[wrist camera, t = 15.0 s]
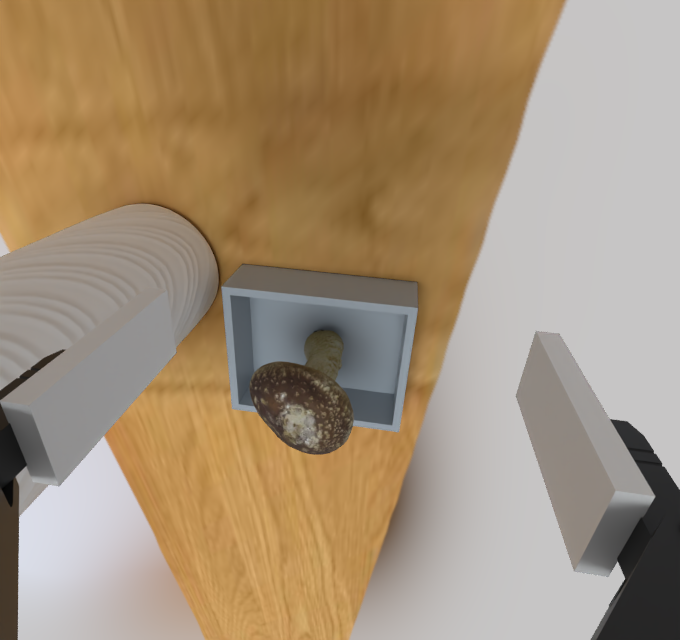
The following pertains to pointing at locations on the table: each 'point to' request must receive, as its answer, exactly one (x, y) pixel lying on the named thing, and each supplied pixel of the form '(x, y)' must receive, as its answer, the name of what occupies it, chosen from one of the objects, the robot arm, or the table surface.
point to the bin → (327, 314)
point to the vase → (97, 287)
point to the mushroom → (306, 397)
